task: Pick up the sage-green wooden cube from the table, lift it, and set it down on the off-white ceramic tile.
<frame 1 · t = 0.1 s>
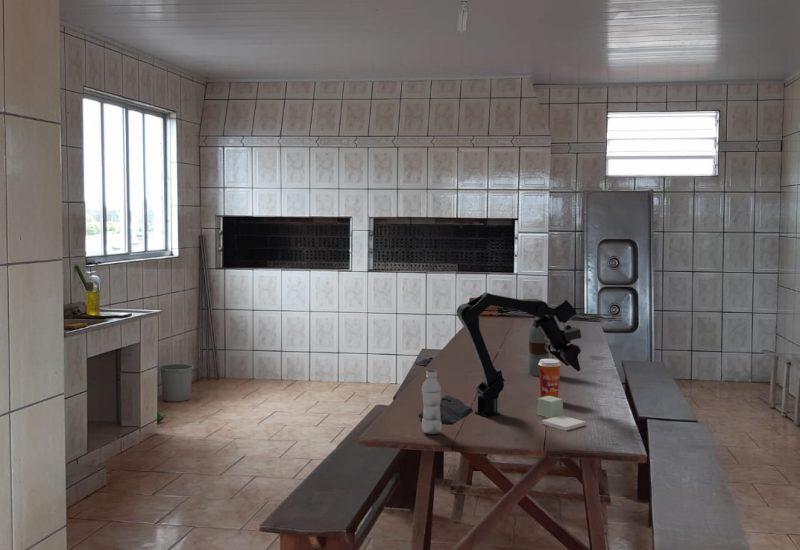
hand: (573, 368, 285), 15 cm above the table, tool tilted 30°, fingers open, 9 cm apart
cube: (549, 415, 278), on the table
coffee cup: (549, 401, 298), on the table
plastic bottle: (431, 433, 258), on the table
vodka: (538, 374, 342), on the table
tile: (563, 424, 268), on the table
dark slate chunk: (443, 416, 280), on the table
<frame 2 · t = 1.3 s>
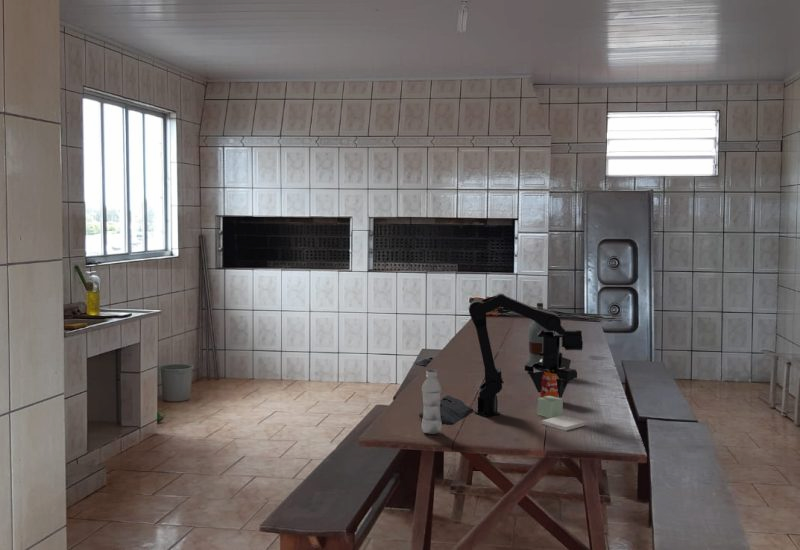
hand: (549, 394, 278), 7 cm above the table, tool pointing down, fingers open, 9 cm apart
nothing on the table moved.
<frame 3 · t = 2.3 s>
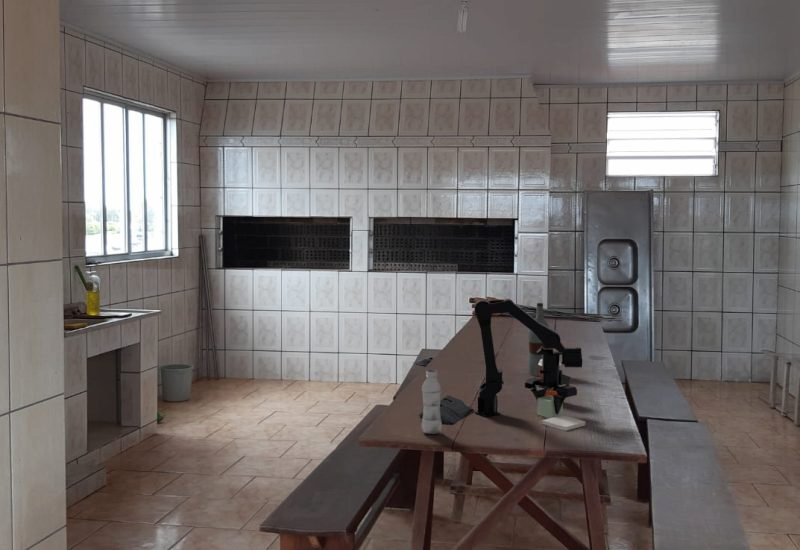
hand: (549, 412, 278), 1 cm above the table, tool pointing down, fingers closed on cube, 6 cm apart
cube: (549, 415, 278), on the table, touching gripper
everything else where it was.
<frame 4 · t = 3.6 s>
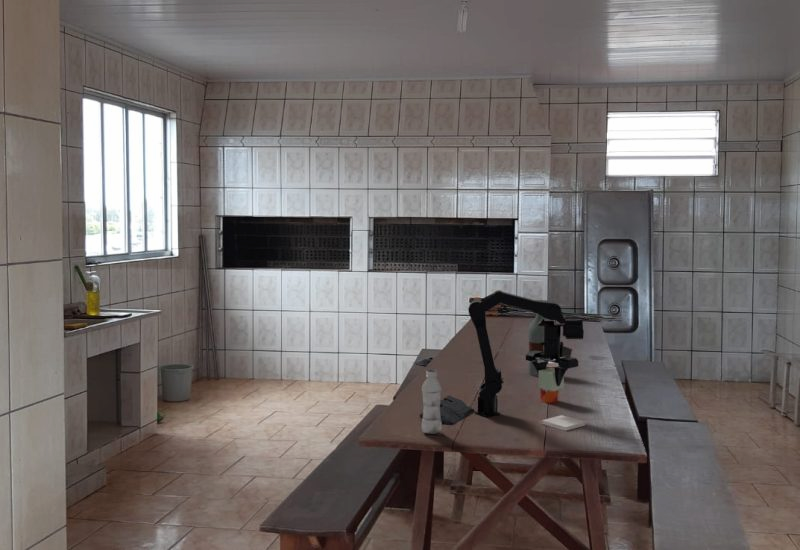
hand: (551, 384, 277), 11 cm above the table, tool pointing down, fingers closed on cube, 6 cm apart
cube: (551, 387, 277), point 10 cm above the table, touching gripper
everything else where it was.
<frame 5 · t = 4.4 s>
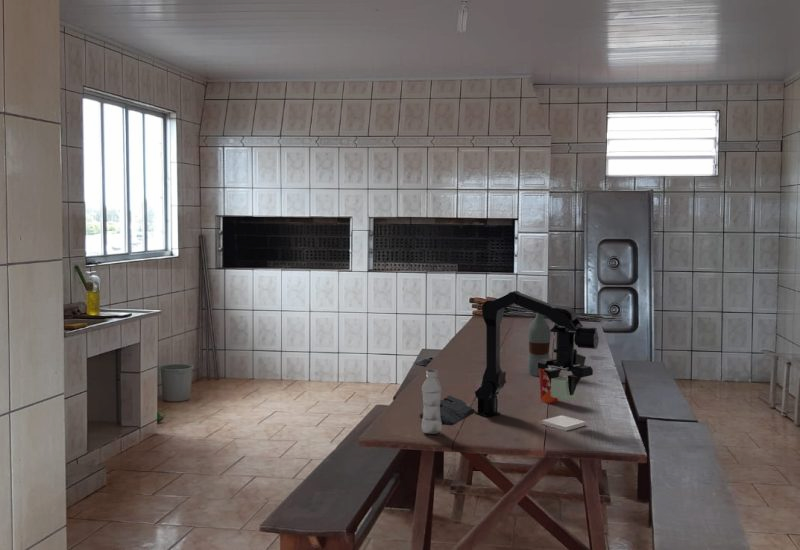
hand: (563, 393, 267), 10 cm above the table, tool pointing down, fingers closed on cube, 6 cm apart
cube: (564, 396, 267), point 9 cm above the table, touching gripper
everything else where it was.
when the fingers open (3 cm above the table, at t = 6.0 s): cube drops 1 cm, resting on tile.
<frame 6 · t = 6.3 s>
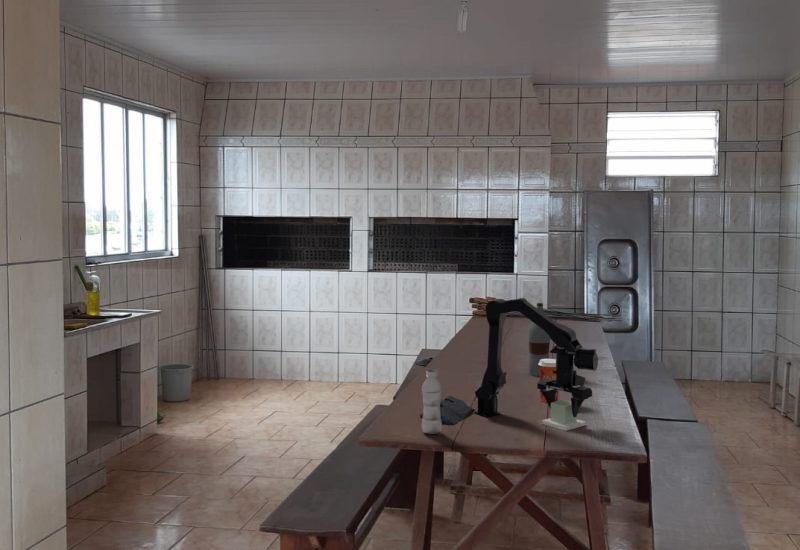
hand: (563, 414, 267), 3 cm above the table, tool pointing down, fingers open, 9 cm apart
cube: (563, 420, 267), point 1 cm above the table, touching tile
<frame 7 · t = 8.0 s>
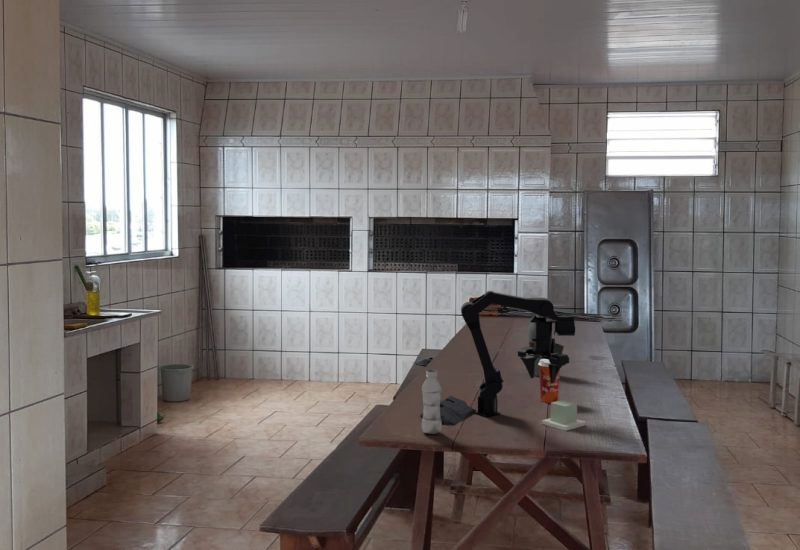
hand: (542, 380, 278), 12 cm above the table, tool pointing down, fingers open, 9 cm apart
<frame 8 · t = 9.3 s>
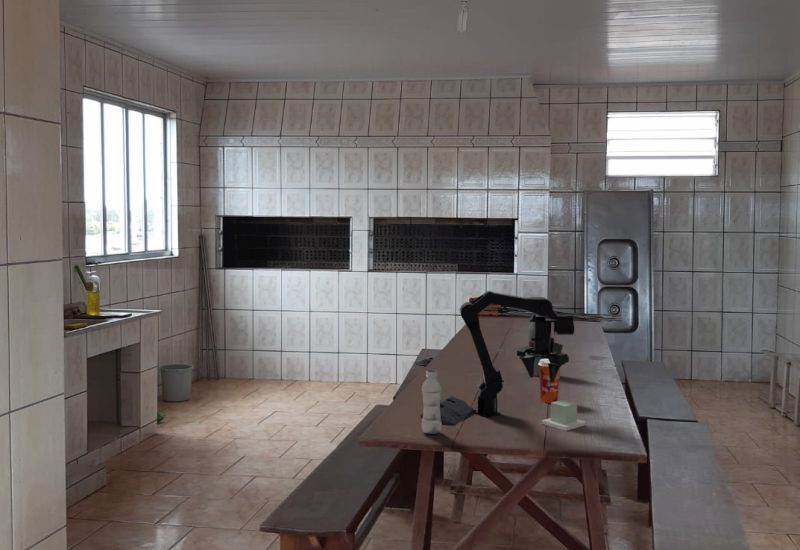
hand: (541, 379, 279), 12 cm above the table, tool pointing down, fingers open, 9 cm apart
at the end: cube inside the target area on the tile (0.1 cm from its centre), point 1.2 cm above the tile's base; cube tilted 0°; the gripper is holding nothing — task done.
